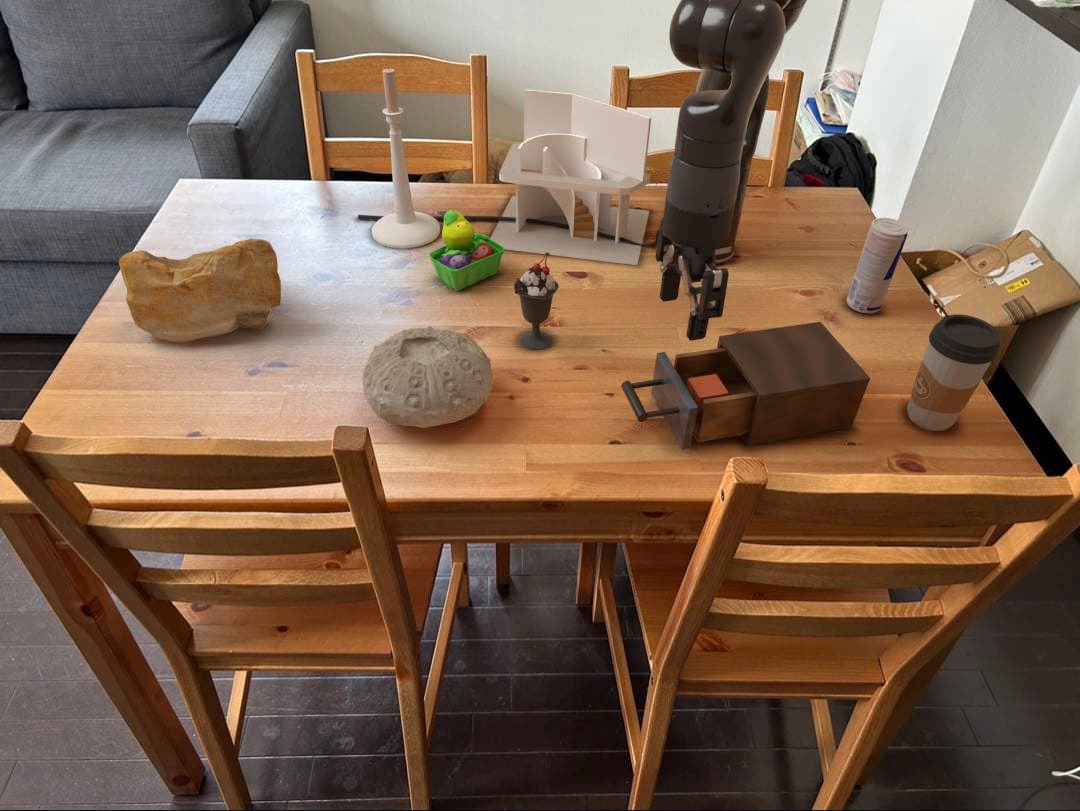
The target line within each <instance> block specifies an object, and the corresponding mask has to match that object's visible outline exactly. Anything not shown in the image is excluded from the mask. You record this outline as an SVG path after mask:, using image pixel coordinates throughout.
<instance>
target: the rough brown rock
mask: <svg viewBox="0 0 1080 811" xmlns="http://www.w3.org/2000/svg"><path fill="white" fill-rule="evenodd" d="M118 266H119V269H120V273H121V276H122V279H123V282H124V285H125V288H126V296H125V300H126V304H127V306H128V309H129V312H130V315H131V318H132V321H133V323H134V324H135V326H136V327H137V328H139V329H140V330H142V331H144V332H147V333H149V334H150V335H151V336H153V337H155V338H157V339H160V340H165V341H168V342H175V343H181V342H191V341H194V340H198V339H202V338H207V337H217V336H222V335H223V334H224V335H225V334H229V333H232V332H233V331H234V330H237V329H239V328H244V329H247V330H251V331H253V330H254V331H255V330H262V329H264V328H265V327H267V324H268V320H269V316H270V313H271V310H272V309H274V308H275V307H279V306H280V305H281V302H282V300H281V299H282V281H281V277H280V275H279V272H278V270H279V269H278V268H279V267H278V266H279V264H278V257H277V253H276V251H275V250H274V248H273V246H272V244H271V242H270V241H268V240H265V239H262V238H248V239H244V240H239V241H236V242H234V243H233V244H229V245H224V246H222V247H219V248H216V249H215V250H210V251H202V252H199V253H194V254H191V255H190V256H188V257H186V258H183V259H175V258H168V257H166V256H156V255H154V254H152V253H151V252H149V251H148V250H143V249H140V250H133V251H130V252H129V251H128V252H126V253H125V254H124V255H122V256H121V257H120V259H118Z"/></svg>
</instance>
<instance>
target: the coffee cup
mask: <svg viewBox="0 0 1080 811" xmlns="http://www.w3.org/2000/svg"><path fill="white" fill-rule="evenodd" d="M1000 339H1001V336H1000V332H998V330H997V329H996V328H995V327H994V326H993V324H990V323H989V322H987V321H985V320H983V319H981V318H979V317H975V316H972V315H968V314H967V315H966V314H949V315H946V316H944V317H942V318H940V320H939V322H937V323H936V324H934V326H933V327H932V330H931V331H930V333H929V334H928V343H927V346H926V347H925V348H926V349H925V352H924V354H923V358H922V360H921V362H920V365H919V368H918V370H917V374H916V377H915V380H914V383H913V386H912V388H911V389H912V390H911V393H910V397H909V400H908V402H907V405H906V412H907V415H908V418H909V420H911V422H913V423H914V424H915V425H916V426H918V427H920V428H921V429H924V430H926V431H927V430H928V431H933V432H942V431H945V430H948V429H949V428H951V427H952V426H954V424H955V423H956V421H957V420H958V418H959V416H960V415H961V413H962V412H963V410H964V409H965V408H966V407H967V405H968V403H969V401H970V399H971V398H972V397H973V395H974V392H975V391H976V390H977V388H978V386H979V385H980V383H981V381H982V379H983V377H984V375H985V374H986V372H987V371H988V368H989V367H990V365H991V363H992V362H993V361H994V360H995V359H997V357H998V352H999V350H1000V347H1001V344H1000Z"/></svg>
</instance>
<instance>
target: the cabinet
mask: <svg viewBox="0 0 1080 811" xmlns="http://www.w3.org/2000/svg"><path fill="white" fill-rule="evenodd" d="M717 348H724V349H725V350H726V352H727V353H728V355H729V356H730V358H731V359H732V360H733V362H734V363H735V365H736V366H737V368H738V369H739V371H740V372H741V373H742V375H743V376H744V378H745V379H746V381H747V382H748V383H749V385H750V386H751V388H752V389H753V391H754V392H755V394H756V395H757V396H758V397H757V400H756V404H755V408H754V411H753V415H752V419H751V423H750V427H749V431H748V434H743V435H739V436H740V437H741V439H742V441H743V442H744V444H745V446H746V447H747V448H751V447H757V446H762V445H763V446H764V445H769V444H774V443H780V442H785V441H786V442H787V441H791V440H792V441H793V440H798V439H803V438H809V437H814V436H820V435H827V434H832V433H833V434H834V433H838V432H844V431H850V430H852V428H853V425H854V423H855V420H856V417H857V415H858V413H859V409H860V407H861V404H862V401H863V399H864V397H865V394H866V392H867V388H868V386H869V383H870V380H871V377H870V376H869V374H868V373H867V372H866V371H865V370H864V369H863V368H862V367H861V366H860V364H859V363H858V362H857V361H856V360H855V359H854V357H852V356H851V354H850V353H849V352H848V351H847V349H845V347H844V346H843V345H842V344H841V343H840V342H839V341H838V339H836V337H835V336H834V335H833V334H832V333H831V332H830V330H829V329H828V328H827V327H826V326H825V325H824V323H822V321H816V322H809V323H802V324H801V323H800V324H794V325H788V326H780V327H772V328H767V329H759V330H751V331H744V332H739V333H737V332H736V333H730V334H724V335H723V334H722V335H719V337H718V341H717V347H716V349H717Z"/></svg>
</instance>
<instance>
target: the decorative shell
mask: <svg viewBox="0 0 1080 811" xmlns="http://www.w3.org/2000/svg"><path fill="white" fill-rule="evenodd" d="M361 380H362V385H363V395H364V397H365V399H366V401H367V403H368V404H369V406H370V407H371V409H372V411H373V412H374V413H375V414H376V416H377V417H378V418H379V419H383V420H386V421H388V422H392V423H394V424H398V425H402V426H405V427H417V428H423V429H424V428H431V427H437V426H440V425H446V424H453V423H455V422H456V423H457V422H459V421H461V420H464V419H466V418H468V417H470V416H472V415H474V414H476V413H477V412H478V411H479V410H480V408H481V407H482V406H483V405H484V404H485V403H487V402H486V401H487V400H488V397H489V395H490V394H491V391H492V388H493V370H492V364H491V359H490V358H489V357H488V355H487V353H486V352H485V350H484V349H482V348H481V346H479V344H478V343H477V342H476V341H475V340H474V339H473V338H470V336H469V334H465V335H463V334H461V333H459V332H457V331H456V332H455V331H450V330H447V329H439V328H434V327H432V326H428V327H426V328H423V327H413V328H408V329H402V330H400V331H399V332H397V333H394V334H393V335H391V336H389V337H388V338H385V340H383V341H381V342H380V343H379V344H378V345H374V346H373V349H372V352H371V353H370V354H369V356H368V357H367V359H366V362H365V365H364V368H363V371H362V376H361Z"/></svg>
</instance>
